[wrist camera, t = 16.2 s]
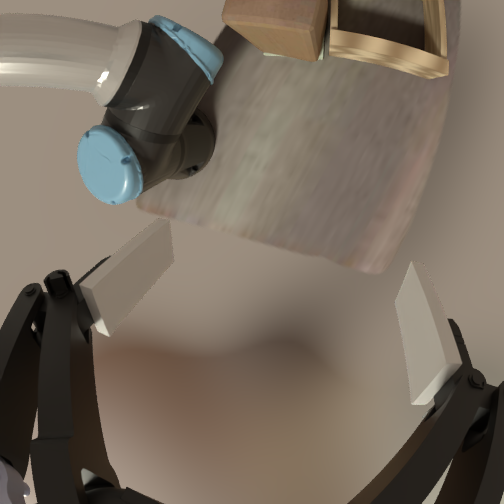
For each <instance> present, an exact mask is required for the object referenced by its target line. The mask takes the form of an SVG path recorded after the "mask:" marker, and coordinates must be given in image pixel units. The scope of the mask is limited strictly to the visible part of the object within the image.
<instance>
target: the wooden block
mask: <svg viewBox="0 0 504 504" xmlns="http://www.w3.org/2000/svg"><path fill="white" fill-rule="evenodd" d="M222 20H223V22H224V23H225V24H227V25H228V26H230V27H231V28H232V29H234V30H235V31H236V32H238V33H239V34H240V35H242V36H243V37H244V38H246V39H247V40H248V41H249V42H251V43H252V44H253V45H254V46H256V47H257V48H258V49H259V50H261V51H262V52H264V53H271V54H276V55H282V56H287V57H292V58H297V59H301V60H306V61H310V62H315V61H317V60H318V59H319V55H320V51H321V47H322V42H323V38H324V34H325V29H326V25H327V21H328V0H226V1H225V5H224V9H223V12H222Z"/></svg>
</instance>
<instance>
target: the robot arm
mask: <svg viewBox="0 0 504 504" xmlns="http://www.w3.org/2000/svg"><path fill="white" fill-rule="evenodd" d="M223 60H224V58H223V54H222V52H221V51H220V50H219V49H218V48H217V47H216V46H214V45H213V44H211V43H210V42H209V41H207V40H206V39H204V38H203V37H201V36H199V35H198V34H196V33H194V32H193V31H191V30H189V29H187V28H185V27H183V26H181V25H179V24H177V23H175V22H174V21H172V20H170V19H168V18H165V17H163V16H160V15H155V16H154V17H153V18H152V19H150V20H149V22H148V23H145V22H142V21H140V20H133V21H131V22H129V23H126V24H124V25H122V26H120V27H116V26H112V25H107V24H103V23H98V22H93V21H88V20H82V19H76V18H69V17H62V16H53V15H41V14H20V13H15V14H14V13H12V14H11V13H6V14H0V86H29V87H48V88H60V89H71V90H79V91H87V92H91V93H92V94H93V96H94V98H95V99H96V101H97V103H98V105H100V106H105V107H107V110H106V113H105V115H104V118H103V121H102V123H101V125H97V126H94V127H92V128H91V129H90V130H89V131H87V132H86V133H85V134H84V135H83V136H82V138H81V140H80V142H79V145H78V151H77V161H78V167H79V171H80V174H81V176H82V179H83V181H84V183H85V185H86V186H87V188H88V189H89V190H90V192H91V193H92V194H93V195H94V196H95V197H97V198H98V199H99V200H101V201H103V202H105V203H108V204H113V205H115V204H122V203H124V202H127V201H129V200H132V199H135V198H137V197H138V196H139V195H140V194H141V193H143V192H145V191H147V190H148V189H150V188H152V187H154V186H155V185H157V184H159V183H161V182H162V181H164V180H166V179H175V180H179V179H185V178H188V177H191V176H193V175H195V174H196V173H198V172H200V171H201V170H202V169H203V168H204V167H205V166H206V165H207V164H208V162H209V161H210V159H211V157H212V154H213V150H214V143H215V139H214V132H213V129H212V126H211V124H210V122H209V120H208V119H207V117H206V116H205V115H204V114H203V113H202V112H201V111H200V110H198V109H197V108H196V107H197V105H198V104H199V102H200V100H201V99H202V97H203V95H204V94H205V92H206V91H207V89H208V87H209V86H210V85H212V84H213V82H214V78H215V76H216V74H217V73H218V71H219V69H220V68H221V66H222V64H223ZM173 262H174V256H173V247H172V237H171V226H170V220H168V219H161V218H158V219H157V220H156V221H154V222H153V223H152V224H150V225H149V226H148V227H147V228H145V229H144V230H143V231H141V232H140V233H139V234H138V235H136V236H135V237H134V238H133V239H131V240H130V241H129V242H128V243H127V244H125V245H124V246H123V247H122V248H120V250H118V251H117V252H116V253H114V254H113V255H112V256H109V257H107V258H105V259H103V260H101V261H100V262H99V263H98V264H96V265H95V267H93V268H92V269H91V270H90V271H88V272H87V273H86V274H85V275H84V276H83V277H82V278H81V279H79V280H78V281H77V282H76V283H75V284H74V285H73V284H72V281H71V279H70V276H69V273H68V272H67V271H66V270H56V271H53V272H52V273H50V274H48V275H47V276H46V278H45V279H44V284H45V286H46V288H47V291H48V293H47V292H43V290H42V287H41V285H40V284H39V283H33V284H29V285H27V286H26V287H25V288H23V290H22V291H21V293H20V294H19V296H18V298H17V299H16V301H15V303H14V304H13V306H12V308H11V310H10V312H9V314H8V315H7V317H6V319H5V321H4V323H3V325H2V327H1V329H0V504H26V503H25V500H24V496H28V495H29V494H30V488H29V486H28V485H27V484H26V483H25V482H23V480H24V477H25V474H26V471H27V467H28V462H29V455H30V458H31V466H32V474H33V481H34V487H35V493H36V497H37V502H38V503H37V504H164V503H161V502H159V501H157V500H154V499H152V498H150V497H148V496H145V495H143V494H141V493H139V492H137V491H134V490H132V489H130V488H128V487H126V489H122V488H121V487H120V484H119V480H118V478H117V475H116V473H115V471H114V469H113V468H112V466H111V465H110V463H109V460H108V457H107V452H106V448H105V444H104V438H103V434H102V428H101V422H100V417H99V410H98V403H97V395H96V386H95V376H94V365H93V347H92V331H91V328H90V326H91V325H92V324H93V323H94V324H95V326H96V328H97V330H98V332H100V333H102V334H105V335H107V336H109V337H110V336H111V335H112V334H113V332H114V331H115V330H116V328H117V327H118V326H119V325H120V324H121V323H122V321H123V320H124V319H125V318H126V316H127V315H128V314H129V313H130V312H131V310H132V309H133V308H134V307H135V306H136V305H137V303H138V302H139V301H140V300H141V299H142V298H143V296H144V295H145V294H146V293H147V291H148V290H149V289H150V288H151V287H152V286H153V285H154V284H155V282H156V281H157V280H158V279H159V278H160V277H161V276H162V274H163V273H164V272H165V271H166V270H167V269H168V268H169V267H170V265H171V264H172V263H173ZM395 307H396V311H397V315H398V320H399V325H400V330H401V335H402V341H403V346H404V352H405V358H406V365H407V371H408V379H409V388H410V397H411V404H412V405H415V404H416V405H426V404H427V403H428V402H429V401H430V400H431V399H432V398H433V397H434V402H435V405H434V406H433V407H432V408H431V409H430V410H429V411H428V412H427V413H425V415H423V416H422V418H424V417H425V418H424V419H423V420H422V422H421V423H420V425H419V426H418V427H417V429H416V430H415V431H414V433H413V434H412V435H411V437H410V438H409V439H408V440H407V442H406V443H405V444H404V445H403V447H402V448H401V449H400V450H399V452H398V453H397V454H396V455H395V456H394V457H393V458H392V460H391V461H390V462H389V463H388V464H387V465H386V466H385V467H384V469H383V470H382V471H381V472H380V473H379V474H378V475H377V476H376V477H375V478H374V479H373V480H372V481H371V482H370V483H369V484H368V485H367V486H366V487H365V488H364V489H363V490H362V491H361V492H360V493H359V494H357V495H356V496H355V497H354V498H353V499H352V500H351V501H350V502H349V503H348V504H422V502H423V501H424V500H425V499H426V497H427V496H428V495H429V493H430V492H431V490H432V489H433V488H434V486H435V485H436V483H437V482H438V481H439V479H440V478H441V476H442V475H443V473H444V472H445V470H446V468H447V467H448V465H449V464H450V462H451V460H452V459H453V460H452V463H451V466H450V468H449V471H448V473H447V476H446V478H445V481H444V483H443V486H442V488H441V491H440V492H439V495H438V497H437V499H436V501H435V503H434V504H500V501H501V498H502V495H503V492H504V381H503V382H502V383H501V384H500V385H499V386H498V387H495V386H492V385H489V384H487V383H486V379H485V377H484V375H483V374H482V373H481V372H480V371H479V370H477V369H474V368H473V367H472V364H471V360H470V358H469V354H468V351H467V349H466V345H464V340H463V338H462V334H461V332H460V329H459V327H458V325H457V324H456V323H455V322H454V320H453V319H447V317H446V314H445V312H444V309H443V307H442V304H441V301H440V299H439V297H438V294H437V292H436V290H435V287H434V285H433V283H432V281H431V278H430V276H429V274H428V272H427V270H426V268H425V266H424V263H419V262H414V261H411V263H410V265H409V268H408V271H407V273H406V276H405V278H404V281H403V283H402V286H401V288H400V291H399V293H398V296H397V298H396V300H395ZM32 323H33V324H34V325H35V327H36V328H35V330H34V331H33V330H32V328H31V326H32ZM37 407H38V438H36V439H34V440H32V433H33V428H34V422H35V417H36V412H37Z"/></svg>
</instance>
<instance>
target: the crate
mask: <svg viewBox="0 0 504 504" xmlns="http://www.w3.org/2000/svg"><path fill="white" fill-rule="evenodd" d="M422 1H423V10H424V30H425V51H422V50H419V49H416V48H413V47H410V46H406V45H403V44H400V43H396V42H392V41H389V40H385V39H381V38H377V37H372V36H368V35H363V34H358V33H352V32H346V31H340V30H337V27H338V0H331V24H330V49H329V56H336V57H343V58H348V59H354V60H359V61H364V62H369V63H373V64H378V65H382V66H386V67H390V68H394V69H397V70H401V71H404V72H408V73H411V74H414V75H417V76H420V77H423V78H426V79H432V78H437V77H441V76H446V75H448V68H449V60H447V40H446V20H445V8H444V0H422Z"/></svg>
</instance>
